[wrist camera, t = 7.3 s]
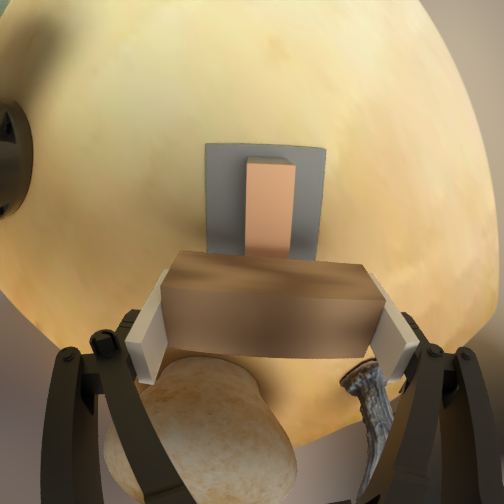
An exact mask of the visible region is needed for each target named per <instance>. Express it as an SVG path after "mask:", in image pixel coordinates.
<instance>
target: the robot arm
mask: <svg viewBox="0 0 504 504" xmlns="http://www.w3.org/2000/svg"><path fill="white" fill-rule="evenodd" d="M9 2H10V0H0V18H1V16H2V14H3V13H4V11H5V9H6V8H7V6H8V4H9ZM31 171H32V139H31V132H30V128H29V124H28V121H27V118H26V116H25V114H24V112H23V110H22V109H21V108H20V106H19V105H18V104H17V103H15V102H14V101H11V100H6V99H4V100H0V220H1V219H3V218H5V217H7V216H8V215H10V214H12V213H14V212H15V211H16V210H17V209H18V208H19V206H20V205H21V203H22V202H23V200H24V198H25V195H26V193H27V190H28V186H29V182H30V177H31ZM168 271H169V269H164V271H163V272H162V274H161V276H160V277H159V279H158V281H157V283H156V284H155V286H154V288H153V290H152V291H151V293H150V295H149V297H148V299H147V300H146V302H145V304H144V306H143V308H142V309H141V310H134V309H132V310H131V311H129V312H128V313H127V314H125V316H124V318H123V319H122V322H121V323H120V325H119V327H118V328H117V330H116V331H115V332H114V331H112V330H107V329H105V330H100V331H97V332H95V333H94V334H93V335H92V336H91V338H90V342H89V343H90V345H91V348H92V350H93V352H94V353H93V354H81V353H80V351H79V350H78V349H77V348H75V347H66V348H64V349H62V350H61V351H59V353H58V354H57V356H56V360H55V364H54V369H53V373H52V378H51V383H50V388H49V394H48V399H47V406H46V412H45V420H44V428H43V438H42V451H41V475H40V477H41V480H40V483H41V484H40V485H41V486H40V487H41V504H104V501H103V494H102V486H101V476H100V464H99V450H98V449H99V448H98V394H105V397H106V400H107V404H108V407H109V410H110V414H111V417H112V420H113V423H114V426H115V429H116V431H117V434H118V437H119V440H120V442H121V445H122V447H123V450H124V452H125V455H126V457H127V460H128V462H129V464H130V467H131V469H132V471H133V473H134V476H135V478H136V480H137V482H138V484H139V486H140V488H141V490H142V493H143V495H144V498H143V499H144V502H145V504H197V502H196V501H195V499H194V498H193V496H192V495H191V493H190V492H189V490H188V488H187V487H186V485H185V484H184V482H183V480H182V479H181V477H180V475H179V474H178V472H177V470H176V469H175V467H174V465H173V463H172V462H171V460H170V458H169V456H168V454H167V452H166V451H165V449H164V447H163V445H162V443H161V441H160V439H159V437H158V435H157V433H156V431H155V429H154V427H153V425H152V423H151V421H150V419H149V416H148V414H147V412H146V410H145V407H144V405H143V403H142V401H141V398H140V396H139V393H138V391H137V389H136V386H135V384H134V380H135V378H136V375H137V378H138V381H139V383H144V384H151V385H154V383H155V380H156V377H157V374H158V371H159V368H160V365H161V362H162V359H163V356H164V353H165V350H166V347H167V344H168V341H167V336H166V331H165V324H164V317H163V308H162V299H161V290H160V285H161V283H162V282H163V280H164V278H165V276H166V275H167V273H168ZM368 274H369V275H370V277H371V278H372V280H373V281H374V283H375V284H376V286H377V287H378V289H379V290H380V292H381V293H382V295H383V296H384V298H385V299H386V303H385V306H384V309H383V311H382V314H381V317H380V319H379V322H378V324H377V327H376V329H375V332H374V334H373V337H372V339H371V341H370V346H371V348H372V350H373V352H374V355H375V357H376V359H377V361H378V363H379V366H380V368H381V370H382V372H383V375H384V377H385V379H386V382H387V383H392V382H397V381H400V380H401V378H402V376H403V374H405V376H406V378H407V379H406V381H405V382H404V384H403V386H402V388H401V389H400V391H399V393H401V392H402V393H401V396H400V400H399V404H398V407H397V410H396V413H395V417H394V420H393V423H392V426H391V429H390V432H389V435H388V437H387V440H386V443H385V446H384V448H383V451H382V453H381V456H380V458H379V461H378V463H377V466H376V468H375V470H374V473H373V475H372V477H371V479H370V481H369V484H368V486H367V488H366V490H365V491H364V493H363V494H362V496H361V497H360V498H359V500H358V501H357V502H356V504H423V502H424V499H425V496H426V493H427V490H428V486H429V478H428V477H426V471H427V467H428V463H429V460H430V456H431V452H432V447H433V443H434V438H435V433H436V428H437V422H438V416H439V418H440V431H441V450H442V485H441V504H504V486H503V483H502V472H501V471H502V470H501V461H500V453H499V445H498V440H497V433H496V428H495V423H494V418H493V413H492V409H491V405H490V401H489V397H488V394H487V390H486V386H485V383H484V379H483V376H482V373H481V370H480V367H479V363H478V361H477V358H476V355H475V353H474V352H473V351H472V350H471V349H469V348H467V347H459V348H458V349H457V351H456V353H455V354H450V353H444V351H443V349H442V348H441V347H439V346H438V345H436V344H431V343H429V342H428V340H427V339H426V337H425V336H424V334H423V333H422V331H421V330H420V329H419V327H418V325H417V324H416V323H415V321H414V320H413V318H412V317H411V316H410V315H408V314H407V313H406V312H400V311H399V310H398V308H397V307H396V305H395V304H394V302H393V301H392V300H391V298H390V297H389V295H388V294H387V293H386V291H385V290H384V288H383V287H382V286H381V284H380V283H379V282H378V280H377V279H376V278H375V276H374V275H373V274H372V273H368ZM329 504H351V500H346V501H341V502H335V503H329Z"/></svg>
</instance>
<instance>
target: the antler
mask: <svg viewBox="0 0 504 504" xmlns="http://www.w3.org/2000/svg"><path fill="white" fill-rule="evenodd" d="M340 385H341V386H342V387H344V388H345V389H346V391H347V392H349V393H350V394H351V395H353V396H358V398H359V400H360V403H361V406H360V412H361V413H362V416H363V422H364V423H365V424H366V428H367V434H366V436H367V439H368V440H367V442H368V460H367V467H366V471H365V474H364V476H363V480H362V483H361V486H360V489H359V492H358V496H357V499H356V501H358V500H359V498H360V497H361V496H362V494H363V493H364V491H365V490H366V488H367V486H368V484H369V481H370V479H371V477H372V475H373V473H374V470H375V468H376V466H377V463H378V461H379V458H380V456H381V453H382V451H383V448H384V446H385V443H386V440H387V437H388V435H389V432H390V429H391V426H392V423H393V420H394V417H393V413H392V410H391V407H390V404H389V399H388V397H387V393H386V389H385V386H386V385H388V383H387V382H386V379H385V377H384V375H383V372H382V370H381V368H380V366H379V363H378V361H369V362H367V363H364V364H362V365H361V366H359V367H358V368H356V369H355V370H354V371H352V372H351V373H350V374H349V375H347V376H346V378H344V379H343V380H342V381H341V382H340Z"/></svg>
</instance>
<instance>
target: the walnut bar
mask: <svg viewBox="0 0 504 504" xmlns="http://www.w3.org/2000/svg"><path fill="white" fill-rule="evenodd" d="M160 290H161V299H162V308H163V317H164V324H165V331H166V336H167V341H168V344H167V345H168V348H173V349H180V350H188V351H196V352H205V353H214V354H225V355H237V356H251V357H268V358H299V359H336V358H363V357H364V355H365V353H366V351H367V348H368V346H369V344H370V341H371V339H372V337H373V334H374V332H375V329H376V327H377V324H378V322H379V319H380V317H381V314H382V311H383V309H384V306H385V303H386V299H385V298H384V296H383V295H382V293H381V292H380V290H379V289H378V287H377V286H376V284H375V283H374V281H373V280H372V278H371V277H370V275H369V274H368V272H367V271H366V270H365V268H364V267H363V265H360V264H346V263H333V262H319V261H306V260H293V259H280V258H267V257H254V256H241V255H228V254H216V253H203V252H191V251H180V252H179V254H178V256H177V257H176V259H175V261H174V262H173V264H172V266H171V268H170V269H169V271H168V273H167V275H166V276H165V278H164V280H163V282H162V283H161V285H160Z"/></svg>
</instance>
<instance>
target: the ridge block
mask: <svg viewBox="0 0 504 504" xmlns="http://www.w3.org/2000/svg"><path fill="white" fill-rule="evenodd" d="M325 161H326V149H324V148H313V147H301V146H287V145H267V144H206V223H207V253H216V254H228V255H241V256H254V257H267V258H280V259H293V260H306V261H315V257H316V249H317V242H318V233H319V225H320V216H321V206H322V196H323V185H324V174H325Z"/></svg>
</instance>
